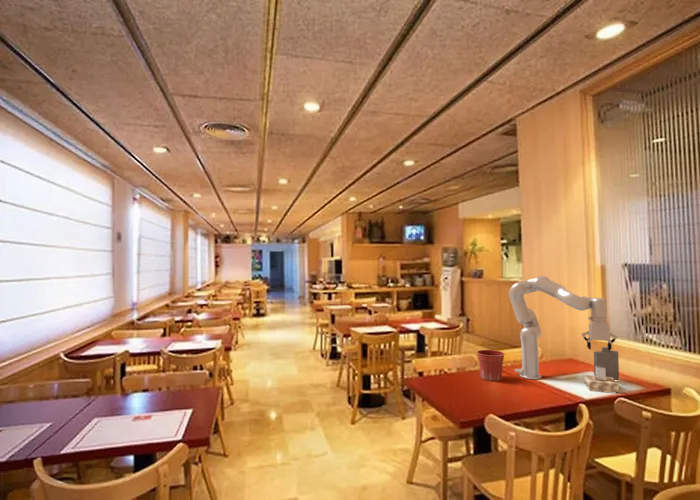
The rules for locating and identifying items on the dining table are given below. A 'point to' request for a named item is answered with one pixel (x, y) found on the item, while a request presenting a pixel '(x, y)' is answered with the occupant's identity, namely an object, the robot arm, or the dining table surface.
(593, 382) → the birch block
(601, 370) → the light grey tall block
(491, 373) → the flower pot
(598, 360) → the hip flask
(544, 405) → the dining table surface
